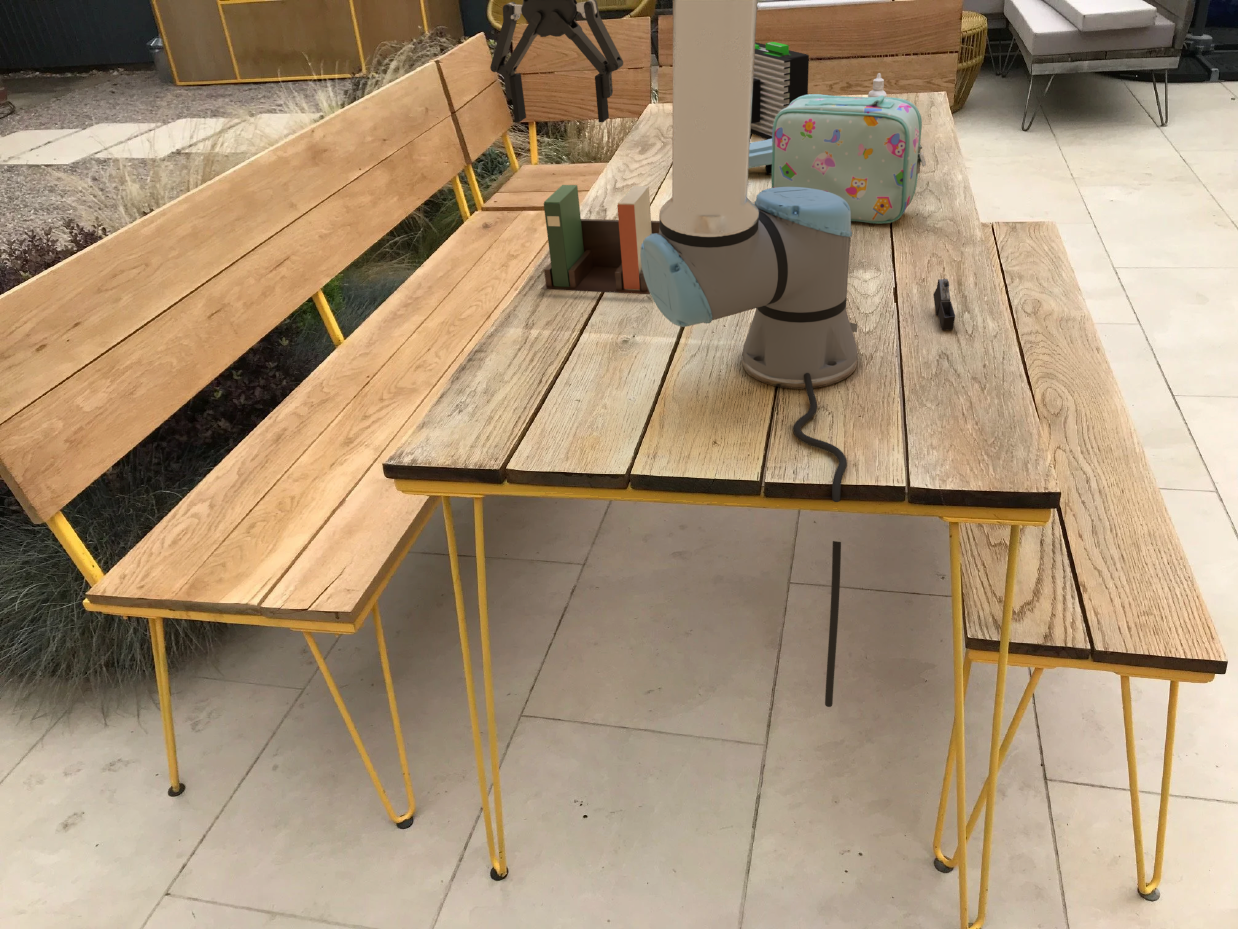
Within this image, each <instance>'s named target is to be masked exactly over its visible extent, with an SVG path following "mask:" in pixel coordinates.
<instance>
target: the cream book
mask: <svg viewBox="0 0 1238 929" xmlns="http://www.w3.org/2000/svg"><path fill="white" fill-rule="evenodd" d="M650 198H651V197H650V186H649V185H632V187H631V188H629V190H628V191H627V192H626V194H624V195H623V197H621V199H619V201H618V202H617V205H616V206H617V220H619V232H620V245H621V257H622V270H623V282H624V289H625V290H641V277H640V273H641V272H642V265H641V257H640V251H641V245H642V243H643V241H644V239H645V238H646V237H648V236H650V234H652V229H651V221H652V216H651V215H652V214H651V200H650Z"/></svg>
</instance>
